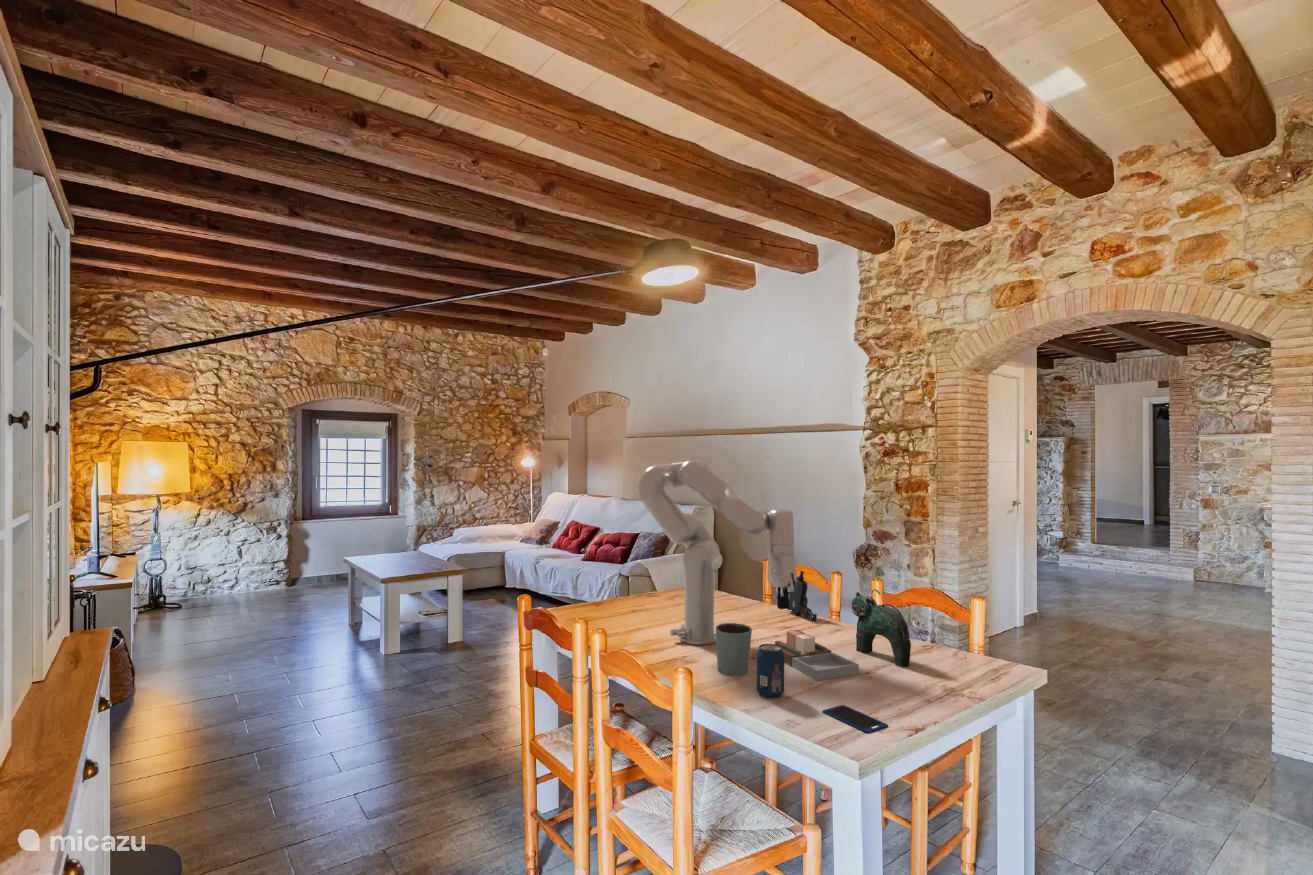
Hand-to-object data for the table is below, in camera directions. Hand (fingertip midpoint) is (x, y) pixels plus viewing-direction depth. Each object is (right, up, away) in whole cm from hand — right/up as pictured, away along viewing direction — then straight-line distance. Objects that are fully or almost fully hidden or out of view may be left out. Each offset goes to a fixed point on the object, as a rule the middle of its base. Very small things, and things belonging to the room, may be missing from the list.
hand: (783, 608), depth 206 cm
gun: (+14, -13, +38) cm, 42 cm away
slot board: (+3, -12, -10) cm, 16 cm away
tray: (+8, -12, -21) cm, 25 cm away
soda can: (-11, -12, -39) cm, 42 cm away
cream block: (+4, -9, -12) cm, 16 cm away
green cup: (-18, -12, -21) cm, 30 cm away
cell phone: (+6, -13, -53) cm, 55 cm away
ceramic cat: (+28, -13, -9) cm, 32 cm away
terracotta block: (+2, -9, -7) cm, 12 cm away
